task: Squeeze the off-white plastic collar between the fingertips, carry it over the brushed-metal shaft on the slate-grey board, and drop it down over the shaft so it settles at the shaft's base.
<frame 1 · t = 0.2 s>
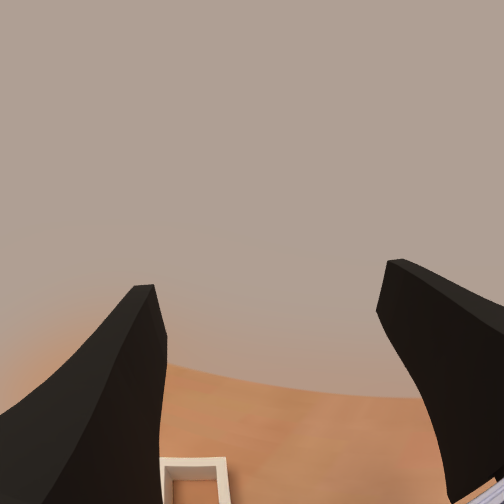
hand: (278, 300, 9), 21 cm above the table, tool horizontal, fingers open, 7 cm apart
collar: (196, 499, 19), on the table
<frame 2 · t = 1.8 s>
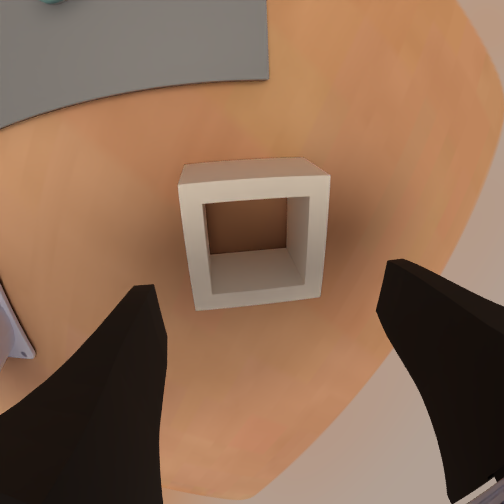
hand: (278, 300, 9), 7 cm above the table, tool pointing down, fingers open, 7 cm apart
collar: (247, 215, 15), on the table
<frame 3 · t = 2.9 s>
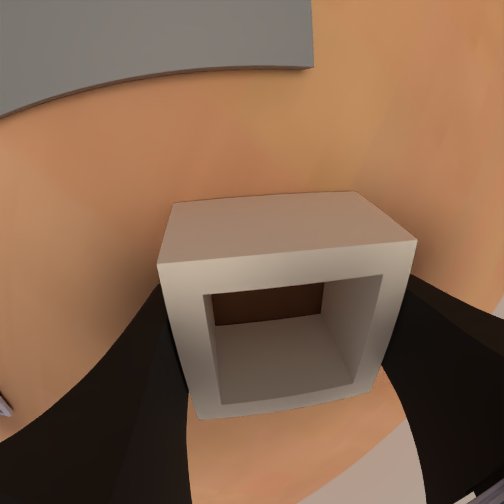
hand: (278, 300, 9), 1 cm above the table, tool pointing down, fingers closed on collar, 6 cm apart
collar: (269, 275, 10), on the table, touching gripper
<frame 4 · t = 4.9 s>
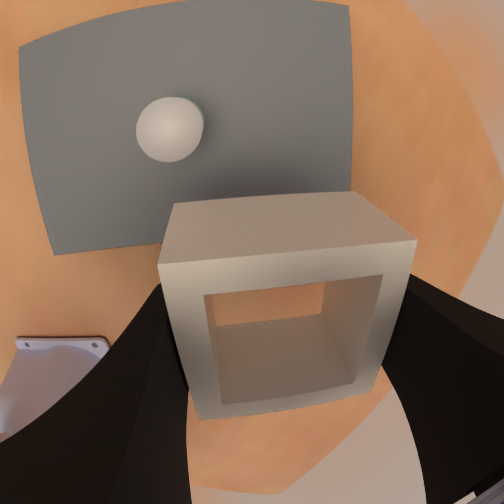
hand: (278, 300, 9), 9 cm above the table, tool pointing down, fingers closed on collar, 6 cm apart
shaft board: (181, 119, 15), on the table
collar: (269, 275, 10), point 8 cm above the table, touching gripper
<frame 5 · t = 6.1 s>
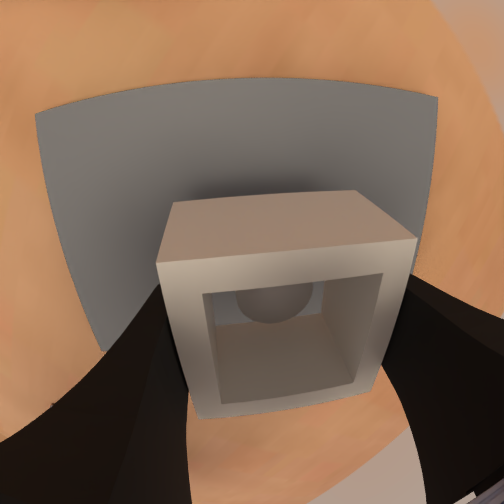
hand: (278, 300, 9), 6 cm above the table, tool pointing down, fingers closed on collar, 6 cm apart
shaft board: (251, 223, 14), on the table
collar: (269, 274, 10), point 4 cm above the table, touching gripper
when the fingers open (5 cm above the table, at t = 6.9 s): collar drops 2 cm, resting on shaft board.
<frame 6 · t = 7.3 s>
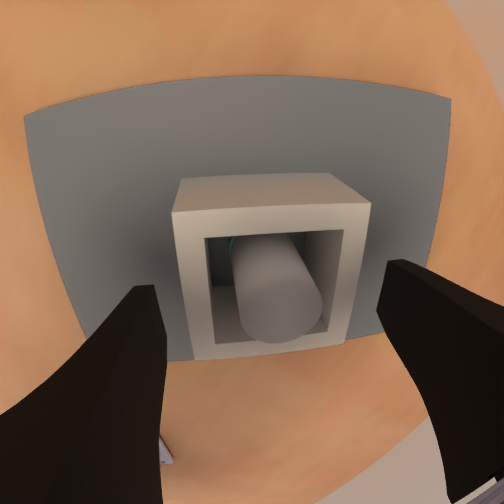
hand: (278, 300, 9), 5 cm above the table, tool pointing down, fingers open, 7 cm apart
shaft board: (254, 231, 13), on the table
collar: (258, 241, 13), point 1 cm above the table, touching shaft board
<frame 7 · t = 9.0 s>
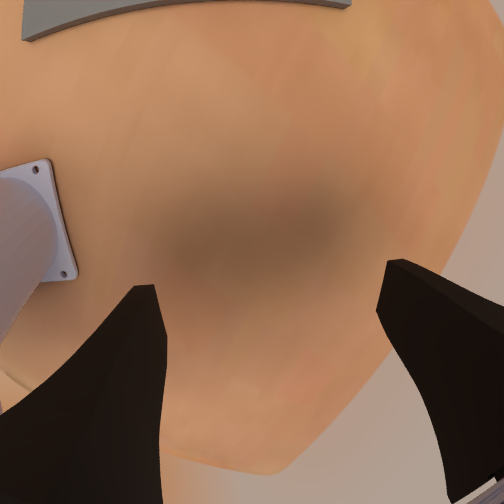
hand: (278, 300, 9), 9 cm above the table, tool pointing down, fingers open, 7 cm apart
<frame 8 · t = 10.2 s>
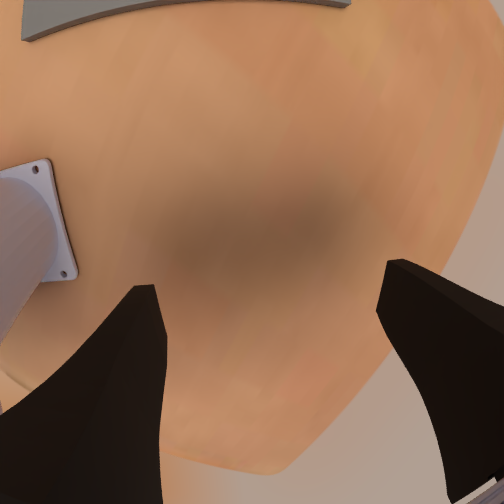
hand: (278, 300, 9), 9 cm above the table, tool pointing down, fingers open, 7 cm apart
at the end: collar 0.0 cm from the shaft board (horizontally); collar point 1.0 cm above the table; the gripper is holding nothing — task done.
